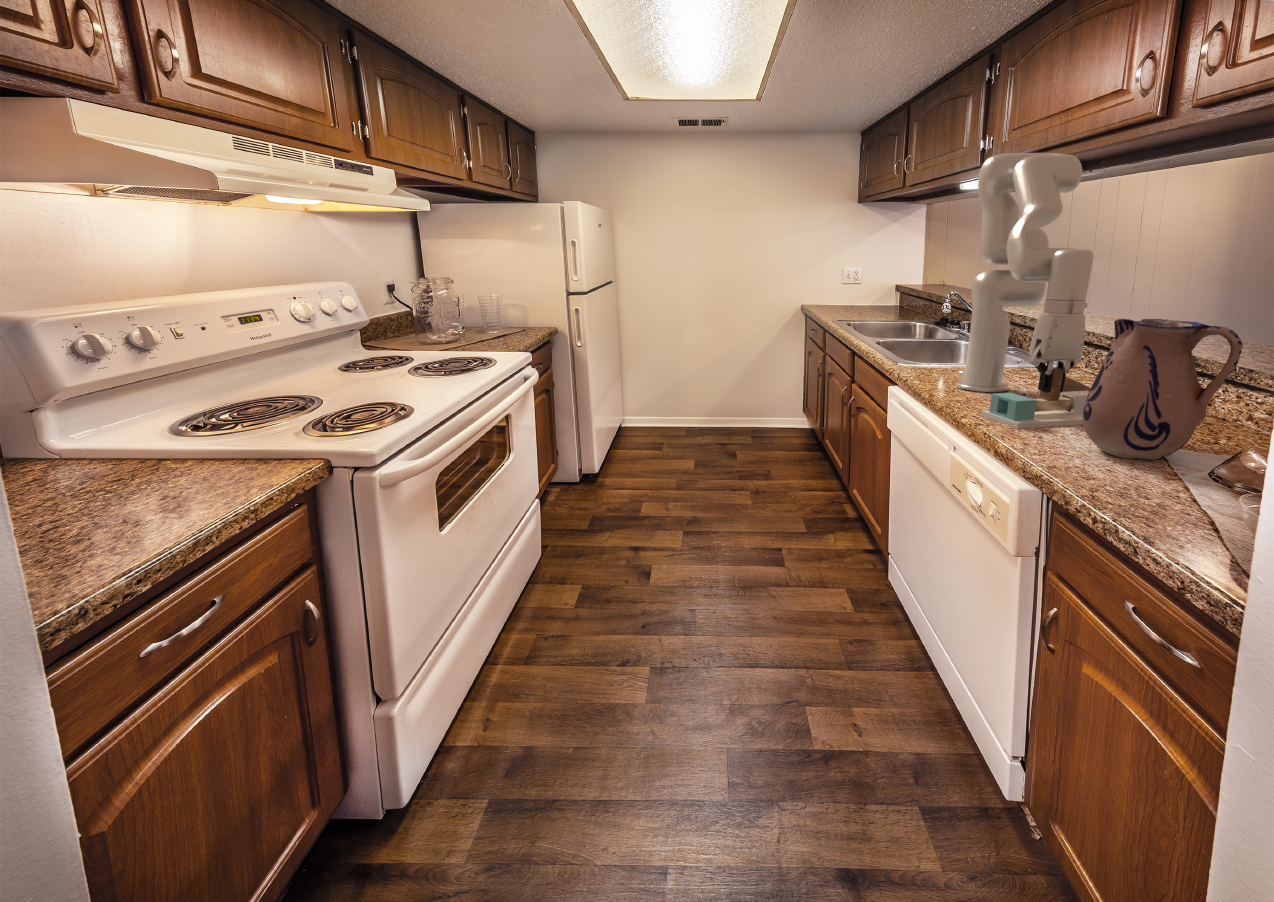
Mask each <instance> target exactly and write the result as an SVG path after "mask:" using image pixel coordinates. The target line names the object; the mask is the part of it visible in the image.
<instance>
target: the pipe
mask: <svg viewBox="0 0 1274 902" xmlns="http://www.w3.org/2000/svg"><path fill="white" fill-rule="evenodd" d="M1090 389H1091V387H1090V386H1088V385H1085V384H1084V383H1082V382H1080V381H1077V380H1075V379H1073V378H1070V377H1068V376H1066V377H1065V382H1064V388H1063V391H1062V392H1073V391H1090ZM1060 394H1061V392H1060ZM1060 394H1059V397H1060Z"/></svg>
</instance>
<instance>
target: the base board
mask: <svg viewBox="0 0 1274 902" xmlns="http://www.w3.org/2000/svg"><path fill="white" fill-rule="evenodd" d="M989 410H990V409H989ZM989 410H987V409H985V410H981V411H980V416H981V417H983V418H986V419H989V420H991V421H995V422H997V423H1000V424H1004V425H1005V426H1006V425H1007V426H1008V427H1012V428H1014V429H1035V428H1048V427H1065V426H1067V427H1068V426H1080V425H1083V415H1070V414H1067V413H1064V412H1060V411H1041V412H1035V415H1034V420H1020V421H1012V420H1010V419H1007V418H1004V417H1001V416H998V415H995V414H992V413H989ZM1083 426H1084V425H1083Z"/></svg>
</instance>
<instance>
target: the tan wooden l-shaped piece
mask: <svg viewBox="0 0 1274 902" xmlns="http://www.w3.org/2000/svg"><path fill="white" fill-rule="evenodd" d="M1063 371H1064V370H1063V369H1059V368H1056V367H1054V366H1053V368H1052V373H1051V375H1053V381H1052V387H1051V391H1050V392H1049V393H1047V392H1043V391H1039V397H1038V398H1034V399H1035V400H1037V402H1036V408H1035V412H1041V411H1058V410H1071V408H1072V403H1073V398H1071V397H1059V394H1060V388H1061V383H1062V377H1063Z"/></svg>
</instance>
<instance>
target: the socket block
mask: <svg viewBox="0 0 1274 902" xmlns="http://www.w3.org/2000/svg"><path fill="white" fill-rule="evenodd" d="M1035 399H1036V398H1030V397H1027V396H1024V395H1021V394H1017V393H1013V392H996V393H991V397H990V405H989V413H992V414H995V415H998V416H1001V417H1004V418H1007V419H1010V420H1012V421H1020V420H1034V415H1035V408H1036V402H1037V400H1035Z"/></svg>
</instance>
